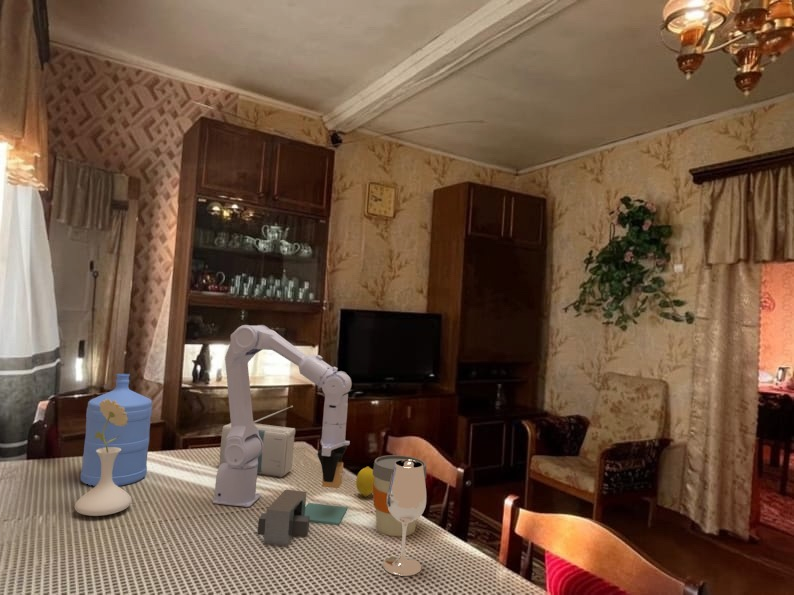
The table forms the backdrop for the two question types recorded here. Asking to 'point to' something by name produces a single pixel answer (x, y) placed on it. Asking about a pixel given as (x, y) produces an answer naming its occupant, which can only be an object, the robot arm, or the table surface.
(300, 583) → the table surface
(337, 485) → the plug
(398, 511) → the wineglass
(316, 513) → the mat
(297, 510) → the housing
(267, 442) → the stereo radio cassette player
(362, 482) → the lemon
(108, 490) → the flower in vase
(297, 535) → the push rod
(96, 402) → the water jug
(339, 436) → the robot arm
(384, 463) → the reusable coffee cup
